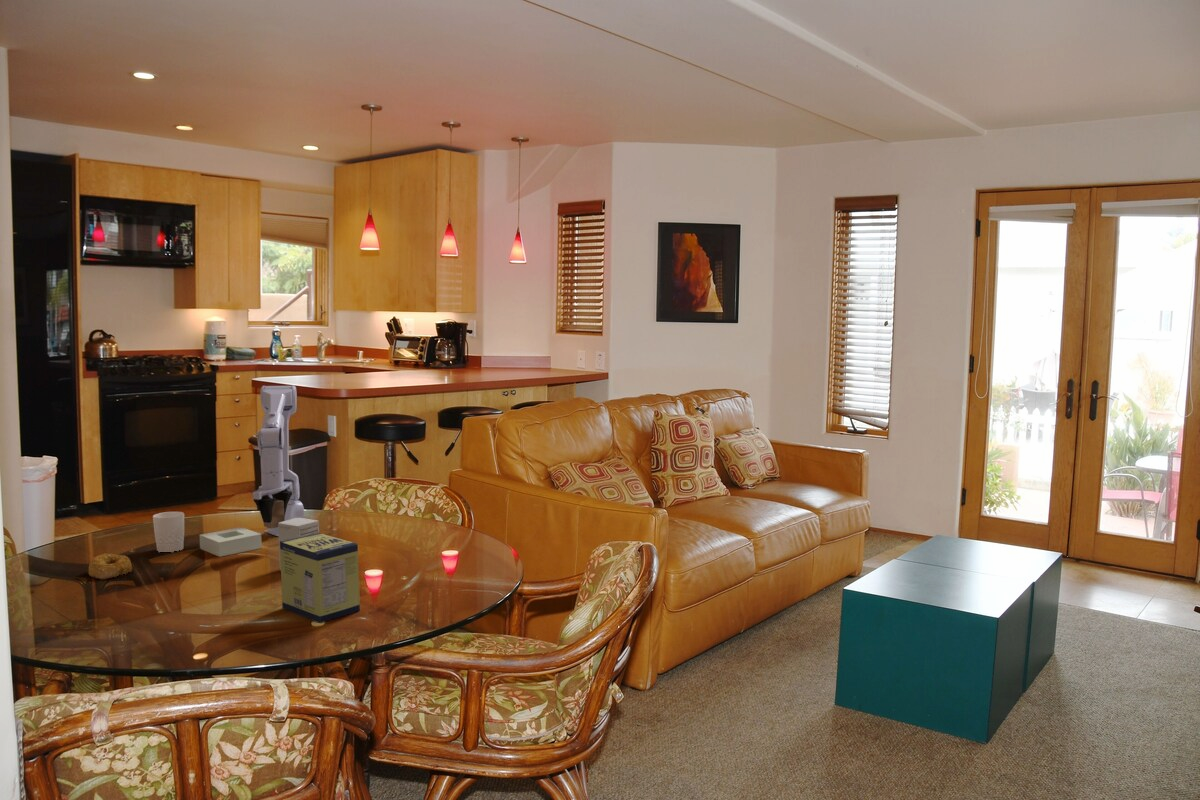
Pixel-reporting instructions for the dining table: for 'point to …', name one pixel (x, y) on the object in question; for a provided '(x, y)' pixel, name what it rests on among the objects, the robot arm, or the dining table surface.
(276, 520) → the peg
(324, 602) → the protein box
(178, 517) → the white cup
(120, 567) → the bagel
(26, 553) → the dining table surface
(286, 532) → the supplement box
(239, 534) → the socket block
